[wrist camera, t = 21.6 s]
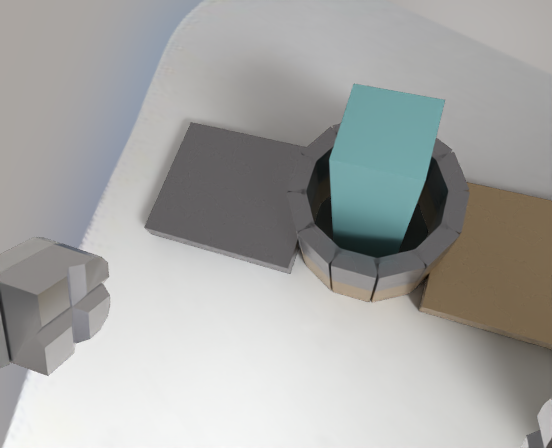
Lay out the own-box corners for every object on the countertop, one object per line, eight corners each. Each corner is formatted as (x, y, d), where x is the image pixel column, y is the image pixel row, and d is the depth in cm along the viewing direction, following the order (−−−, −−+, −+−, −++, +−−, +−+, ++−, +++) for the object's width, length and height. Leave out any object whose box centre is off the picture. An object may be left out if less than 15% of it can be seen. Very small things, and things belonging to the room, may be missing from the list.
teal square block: (406, 211, 35) (444, 99, 22) (392, 265, 33) (425, 180, 20) (349, 197, 36) (353, 83, 23) (333, 249, 34) (329, 159, 21)
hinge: (619, 220, 32) (689, 176, 26) (606, 371, 29) (682, 363, 22) (198, 128, 40) (170, 76, 34) (149, 238, 37) (108, 204, 30)
